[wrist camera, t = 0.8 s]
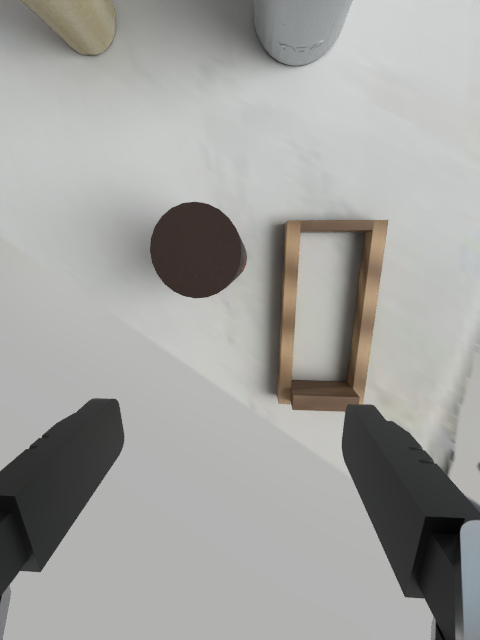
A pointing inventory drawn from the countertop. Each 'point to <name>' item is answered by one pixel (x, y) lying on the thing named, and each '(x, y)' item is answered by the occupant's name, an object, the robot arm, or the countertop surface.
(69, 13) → the flower pot
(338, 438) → the countertop surface
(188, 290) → the deodorant
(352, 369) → the wooden frame
